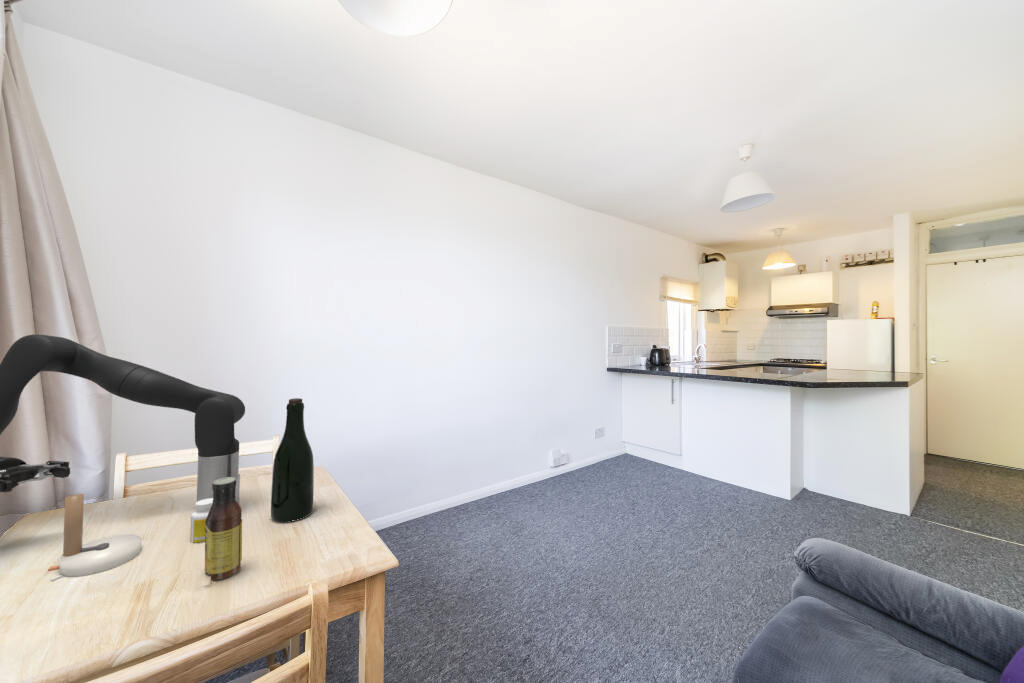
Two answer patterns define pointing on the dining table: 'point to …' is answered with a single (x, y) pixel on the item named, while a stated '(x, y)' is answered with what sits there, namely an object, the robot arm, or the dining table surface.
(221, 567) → the sauce bottle
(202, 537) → the supplement bottle
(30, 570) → the dining table surface
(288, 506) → the dark green wine bottle
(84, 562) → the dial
